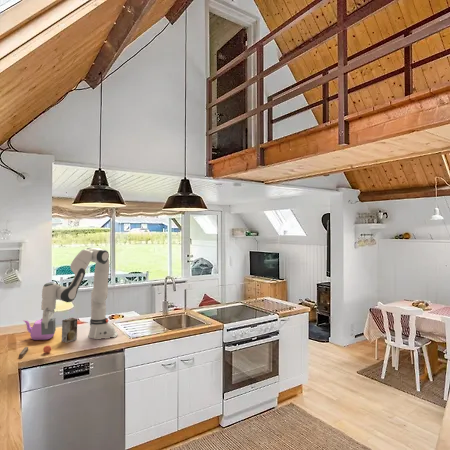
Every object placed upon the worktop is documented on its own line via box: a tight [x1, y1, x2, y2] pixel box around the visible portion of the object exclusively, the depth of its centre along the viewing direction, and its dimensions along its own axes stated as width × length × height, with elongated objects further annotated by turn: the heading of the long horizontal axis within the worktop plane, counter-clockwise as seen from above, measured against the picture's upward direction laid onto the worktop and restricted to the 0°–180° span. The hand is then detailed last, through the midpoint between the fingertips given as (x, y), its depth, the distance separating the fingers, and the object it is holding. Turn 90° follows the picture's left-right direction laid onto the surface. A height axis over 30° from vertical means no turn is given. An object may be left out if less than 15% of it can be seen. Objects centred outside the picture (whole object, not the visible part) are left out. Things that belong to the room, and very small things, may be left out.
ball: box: [42, 344, 52, 354], centre depth 239 cm, size 5×5×5 cm
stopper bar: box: [18, 346, 29, 359], centre depth 235 cm, size 2×14×2 cm, turn 17°
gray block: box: [41, 317, 57, 335], centre depth 239 cm, size 7×7×9 cm
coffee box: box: [61, 317, 78, 343], centre depth 266 cm, size 9×6×16 cm
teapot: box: [22, 318, 56, 341], centre depth 271 cm, size 23×21×15 cm
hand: (47, 326), depth 239 cm, fingers closed on gray block, 7 cm apart
